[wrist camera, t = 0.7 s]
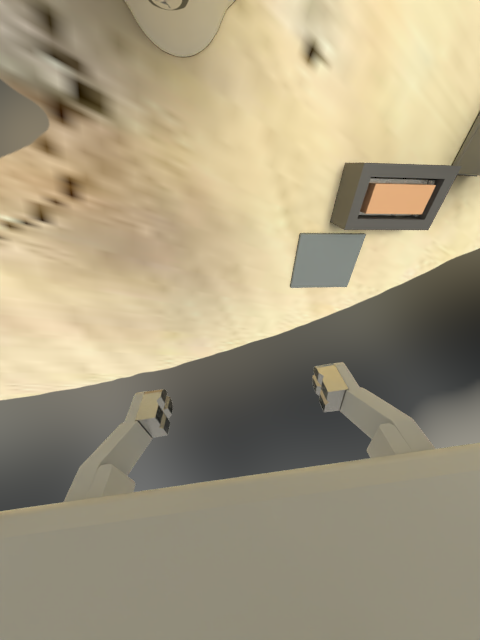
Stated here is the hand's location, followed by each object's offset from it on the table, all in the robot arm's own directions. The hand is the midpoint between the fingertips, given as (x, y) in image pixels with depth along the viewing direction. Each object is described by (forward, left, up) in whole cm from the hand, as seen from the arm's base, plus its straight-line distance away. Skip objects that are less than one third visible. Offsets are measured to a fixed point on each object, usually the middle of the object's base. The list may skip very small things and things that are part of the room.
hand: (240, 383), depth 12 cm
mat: (+10, +26, -44) cm, 52 cm away
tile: (-5, +34, -39) cm, 52 cm away
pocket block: (-5, +34, -44) cm, 56 cm away
